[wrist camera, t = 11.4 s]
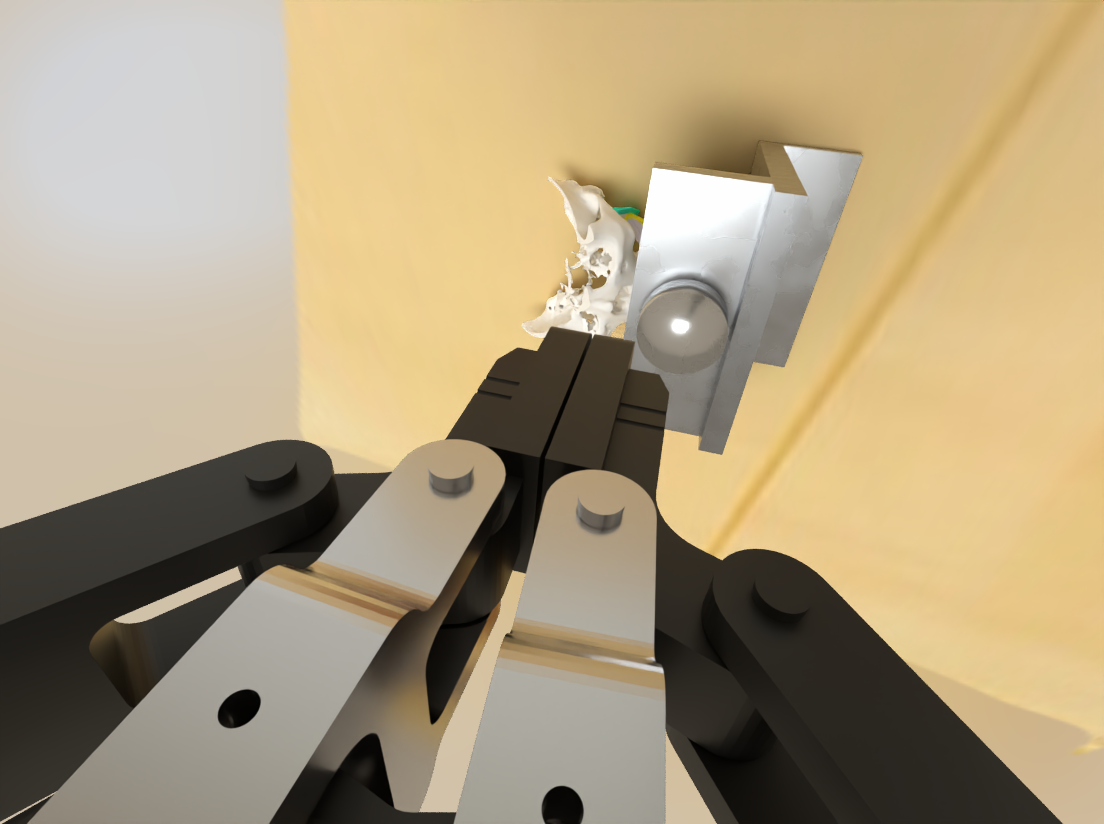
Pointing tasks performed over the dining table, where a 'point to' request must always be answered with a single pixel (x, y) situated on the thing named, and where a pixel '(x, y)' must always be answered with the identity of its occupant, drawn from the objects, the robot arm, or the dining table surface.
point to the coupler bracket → (730, 275)
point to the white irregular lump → (594, 264)
